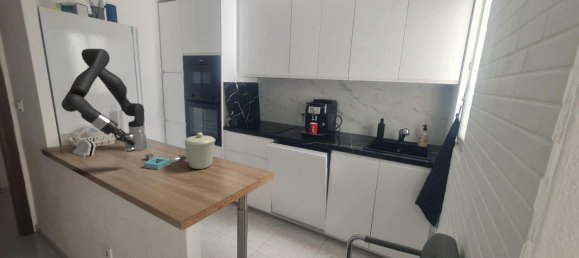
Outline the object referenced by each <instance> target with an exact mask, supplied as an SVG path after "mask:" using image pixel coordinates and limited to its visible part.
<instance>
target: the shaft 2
mask: <svg viewBox="0 0 579 258" xmlns="http://www.w3.org/2000/svg"><path fill="white" fill-rule="evenodd" d="M169 159H170V163H171V164H173V163H176V162H177V163H178V162H186V161H187V160H188V159H187V155H185V154H180V155H178V156H177V157H173V158H169Z"/></svg>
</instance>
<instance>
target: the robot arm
mask: <svg viewBox="0 0 579 258" xmlns="http://www.w3.org/2000/svg"><path fill="white" fill-rule="evenodd" d="M81 57H82V60H83V61H84V63H85V64H86V65H87V66H88V67H87V68H85V70H83V71H82V72H81V73H79V75H77V77H75V79H74V81H73V82H72V84H71V86H70V89H69V90H68V91H67V93H66V95H65V96H64V97H63V100H62V101H61V108H62V109H63V110H64V111H66V112H69V113H70V112H71V113H72V112H73V113H74V112H78V113H79V114H80V116H81V118H82V120H84V121H86V122H87V123H88V124H90V125H92V126H93V127H94V128H96V129H97V130H99V131H100V132H102V133H103V134H104V135H107V136H108V135H110V134H112V135H113V137H114V138H115V139H117V140H119V141H121V142H123V143H124V144H125V142H127V143H128V144H130V145H131V146H133V145H134V144H135V151H134V152H138V151H144V150H146V149H147V148H148V145H147V143H148V142H147V136H146V133H145V108H144V105H143V104H142V103H139V102H138V103H136V102H131V101H130V100H129V99H128V97H127V95H128V93H127V92H128V89H127V86H126V85H125V83H124V82H123V80H122V79H121V78H120V77H119V76H117V75H116V74H114V73H113V72H111V70H110V71H109V69H107V68H106V67H107V66H108V64H109V63H110V58H111V57H110V54H109V53H108V51H107V50H106V49H104V48H85V49H82V51H81ZM97 78H98V79H100V80H101V82H102V83H103V84H104V86H105V87H106V88H107V90H108V91H109V92H110V93H111V95H112V96H113V98H114V99H115V100H116V102H117V103H118V105H119V106H120V108H121V110H122V111H123V113H124V114H125V116H128V117H134V119H133V120H130V121H128V123H127V125H128V133H134V142H133V141H132V140H130V139H129V138H127V137H126V135H125V133H126V132H125V131H124V130H123V129H122V128H118V126H119V124H118V122H117V121H114V120H112V118H110V117H108V116H107V115H105V114H103V113H101V112H100V111H99V110H98V109H96V108H94V107H93V106H92V104H91V103H89V102H88V101H87V100H86V98H85V97H86V96H87V95H88V94H89V92H90V90H91V89H92V86H93V84H94V82H95V81H96V79H97Z"/></svg>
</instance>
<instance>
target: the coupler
mask: <svg viewBox="0 0 579 258" xmlns="http://www.w3.org/2000/svg"><path fill="white" fill-rule="evenodd" d="M125 135H126V137H127V138H129V139H130V140H132V141H133V142H134V133H129V132H125ZM124 146H125V152H126V153H132V152H136V151H135V144H134V145H133V146H131V145H130V144H128V143H127V142H125V143H124Z"/></svg>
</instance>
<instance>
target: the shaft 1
mask: <svg viewBox="0 0 579 258" xmlns="http://www.w3.org/2000/svg"><path fill="white" fill-rule="evenodd" d="M154 158H155V157H154V154H153V153H147V154H144V159H145V160H146V161H149V160H151V159H154Z"/></svg>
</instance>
